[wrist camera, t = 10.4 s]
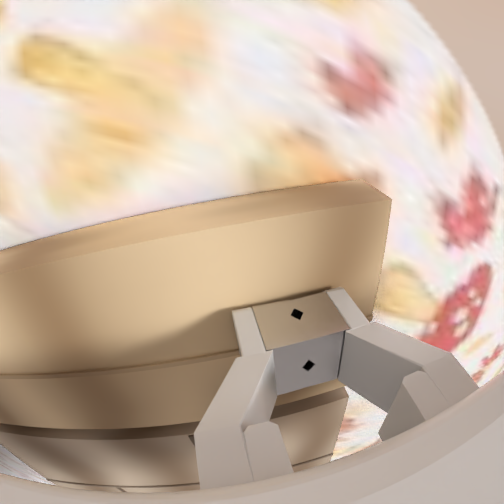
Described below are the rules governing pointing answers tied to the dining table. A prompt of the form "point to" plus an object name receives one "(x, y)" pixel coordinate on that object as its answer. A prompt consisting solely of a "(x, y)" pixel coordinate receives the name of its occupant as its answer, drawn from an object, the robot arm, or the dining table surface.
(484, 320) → the dining table surface
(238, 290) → the plank
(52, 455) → the floor panel
